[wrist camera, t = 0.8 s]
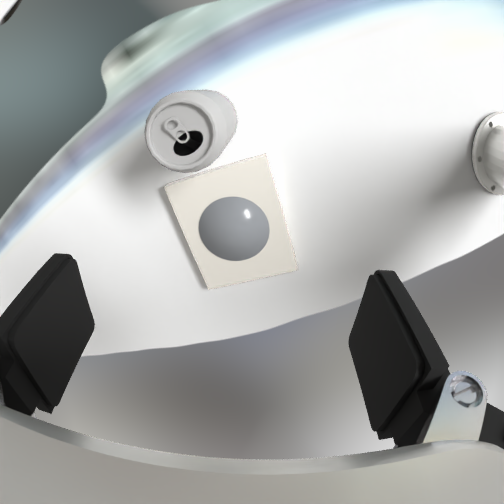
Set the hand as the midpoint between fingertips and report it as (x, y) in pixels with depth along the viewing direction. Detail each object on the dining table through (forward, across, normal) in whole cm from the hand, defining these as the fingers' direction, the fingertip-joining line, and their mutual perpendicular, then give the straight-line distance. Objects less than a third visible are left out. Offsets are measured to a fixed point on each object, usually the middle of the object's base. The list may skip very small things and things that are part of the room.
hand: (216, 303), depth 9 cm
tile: (+30, +1, +11) cm, 32 cm away
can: (+30, +4, -2) cm, 30 cm away
